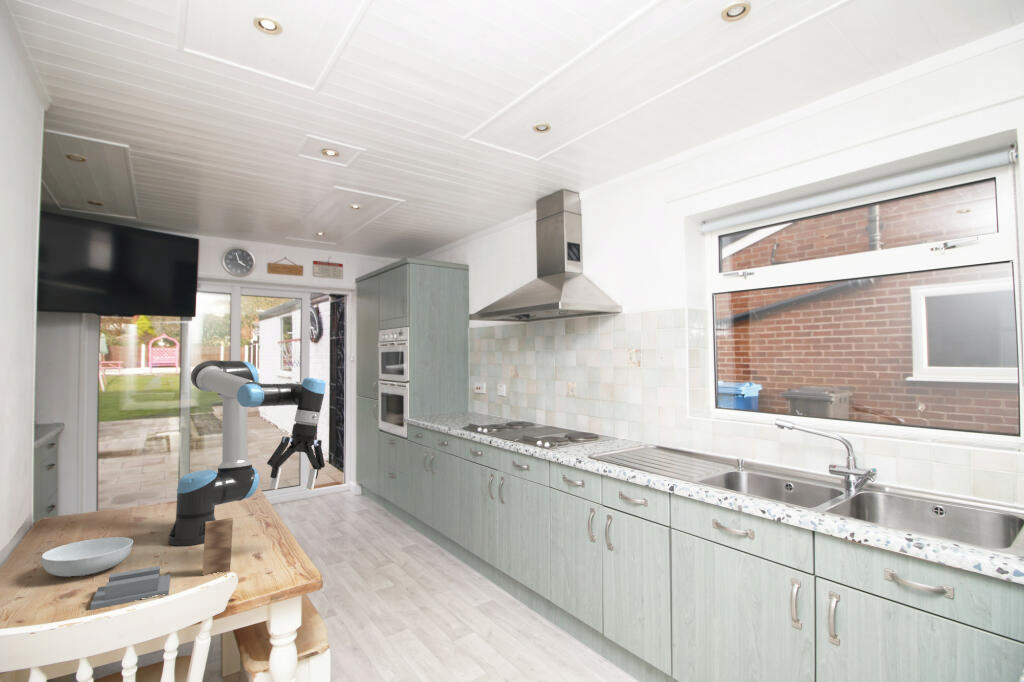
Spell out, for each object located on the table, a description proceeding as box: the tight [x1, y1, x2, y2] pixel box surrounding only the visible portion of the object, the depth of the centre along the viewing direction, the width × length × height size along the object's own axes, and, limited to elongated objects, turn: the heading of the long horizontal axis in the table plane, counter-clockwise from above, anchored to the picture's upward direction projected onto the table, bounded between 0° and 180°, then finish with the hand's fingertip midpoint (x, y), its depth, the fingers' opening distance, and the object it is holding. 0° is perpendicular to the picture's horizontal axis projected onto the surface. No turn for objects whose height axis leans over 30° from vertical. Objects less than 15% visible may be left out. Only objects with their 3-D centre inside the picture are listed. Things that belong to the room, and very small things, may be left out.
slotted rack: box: [89, 565, 171, 610], centre depth 131 cm, size 16×12×5 cm
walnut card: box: [202, 517, 234, 576], centre depth 146 cm, size 7×2×15 cm, turn 124°
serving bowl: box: [41, 536, 134, 577], centre depth 145 cm, size 21×21×7 cm
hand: (292, 488), depth 159 cm, fingers open, 13 cm apart
